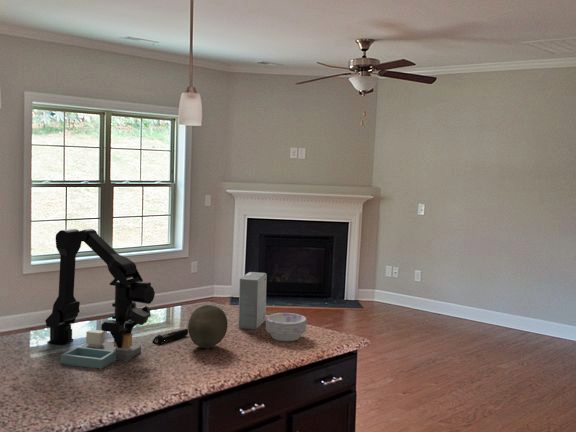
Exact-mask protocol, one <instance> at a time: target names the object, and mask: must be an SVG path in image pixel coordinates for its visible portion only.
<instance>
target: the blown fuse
mask: <svg viewBox="0 0 576 432" xmlns="http://www.w3.org/2000/svg"><path fill="white" fill-rule="evenodd" d="M113 343H114V347H116V350H122V351H129V350H130V347H131V346H132V345H133V333H131V334H128V333H124V336H123V343H122V348H118V346H117V344H116V342H115V340H114V339H113Z"/></svg>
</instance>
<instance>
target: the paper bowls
mask: <svg viewBox="0 0 576 432" xmlns="http://www.w3.org/2000/svg"><path fill="white" fill-rule="evenodd" d="M265 331H266V332H267V333H269V334H270V335H271V338H273V340H275V341H279V342H280V341H281V342H293V341H297V340H299V339H300V337H301V335H303V334H305V333H306V331H307V317H306V316H304V315H301V314H299V313H291V312H277V313H271V314H269V315H266V320H265Z"/></svg>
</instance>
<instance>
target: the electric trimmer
mask: <svg viewBox="0 0 576 432" xmlns="http://www.w3.org/2000/svg"><path fill="white" fill-rule="evenodd" d="M188 335H189V331H188V328H185V329H184V328H183V329H180V330H179V329H178V330H175V331H172V332H170V333H169V332H168V333H166V334H162V335H161V334H158V335H157V336H156V335H155V337H154V338H153V339H152V344H153V343H154V344H153V345H156V344H161V345H162V344H163V343H167V342H170V341H173V340H174V341H175V340H179V339H181V338H184V337H186V336H188ZM164 340H165V341H164Z"/></svg>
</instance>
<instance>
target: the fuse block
mask: <svg viewBox="0 0 576 432" xmlns="http://www.w3.org/2000/svg"><path fill="white" fill-rule="evenodd" d="M80 347H85V348H94V349H102V350H111V351H116V359H117V360H116V361H123V360H124V361H123V362H128V361H129V360H130V358H131V359H132V358H134V357H135V356H137V355H139V354H140V353H141V351H142V347H141V345H136V344H135V345H134V344H132V346H131V347H130V350H129V351H122V350H116V347H114V342H109V341H105V343H103V344H102V347H100V348H97V347H88V344H86V343H85V344H84V345H81V346H80ZM133 356H134V357H133ZM127 360H128V361H127Z"/></svg>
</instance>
